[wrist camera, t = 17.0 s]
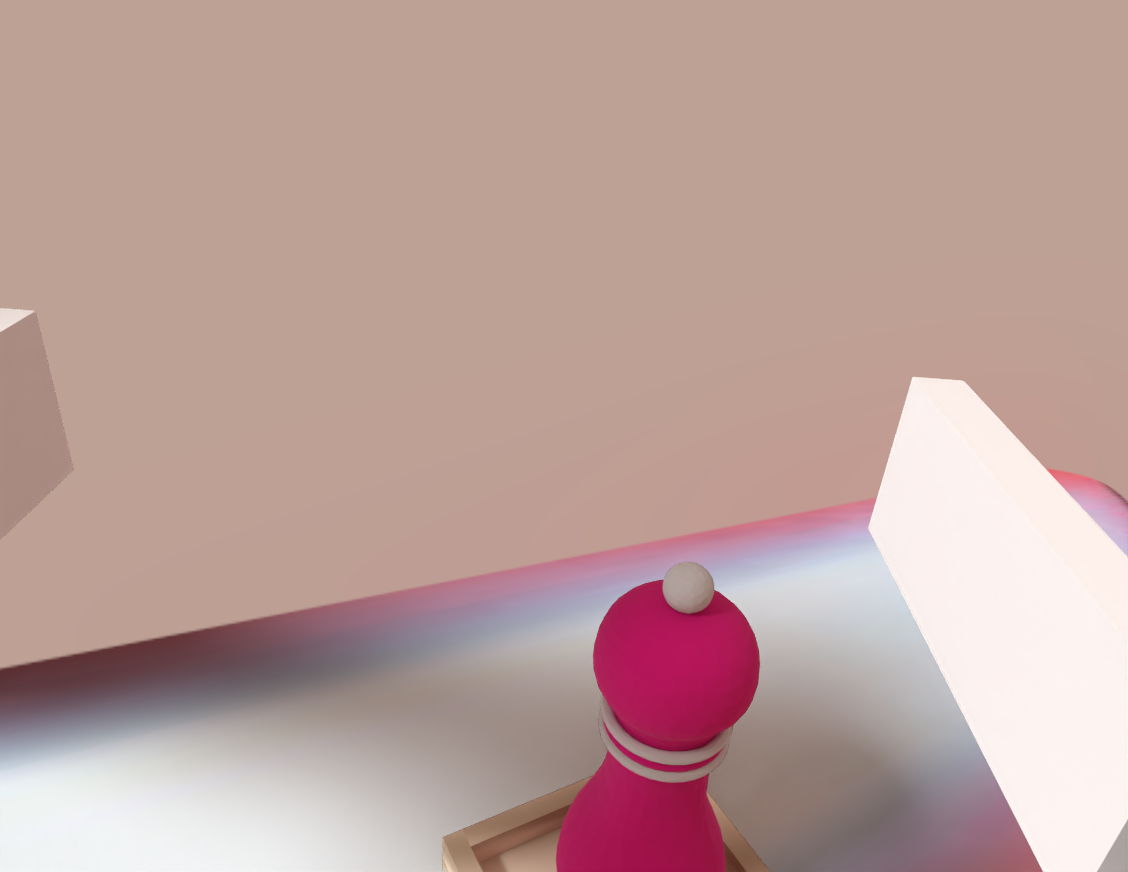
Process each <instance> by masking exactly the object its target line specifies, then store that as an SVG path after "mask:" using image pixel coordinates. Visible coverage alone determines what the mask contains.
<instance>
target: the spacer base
mask: <svg viewBox="0 0 1128 872" xmlns="http://www.w3.org/2000/svg"><path fill="white" fill-rule="evenodd" d="M593 776H594V775H593ZM593 776H590V777H588V778H586V779H583V780H581V781H578V782H576V783H573V784H571V785H569V786H566V787H564V788H561V789H559V790H556V791H554V792H552V793H549V794H547V795H544V796H542V797H539V798H537V799H535V800H532V801H530V802H527V803H525V804H522V805H520V806H518V807H515V808H513V809H510V810H508V811H505V812H503V813H501V814H498V815H496V816H493V817H491V818H488V819H486V820H484V821H481V822H479V823H476V824H474V825H471V826H469V827H467V828H464V829H462V830H459V831H457V832H454V833H452V834H450V835H447V836H445V837H443V870H444V872H557V867H556V852H557V844H558V840H559V836H560V832H561V828H562V824H563V820H564V818H565V816H566V814H567V812H568V810H569V808H570V806H571V804H572V803H573V801H574V799H575V798H576V796H577V794H578V793H579V791H580V790H581V789H582V788H583V787H584V785H585V784H586V783H587V782H588V781H589V780H590V779H591V778H592V777H593ZM707 797H708V800H709V802H710V804H711V806H712V808H713V811H714V813H715V816H716V818H717V821H718V823H719V826H720V829H721V833H722V838H723V844H724V849H725V855H726V870H725V872H770V871H769V870H768V868H767V867H766V866H765V864H764V863H763V862H762V861H761V859H760V858H759V857H758V856H757V854H756V853H755V852H754V850H753V849H752V848H751V847H750V845H749V844H748V843H747V842H746V840H745V839H744V838H743V837H742V835H741V834H740V833H739V831H738V830H737V829H736V828H735V826H734V825H733V824H732V823H731V821H730V820H729V819H728V817H727V816H726V815H725V814H724V812H723V811H722V810H721V809H720V807H719V806H718V805H717V804H716V802H715V801H714V800H713V798H712V797H711V796H710V795H709V793H708V792H707Z"/></svg>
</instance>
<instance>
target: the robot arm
mask: <svg viewBox="0 0 1128 872" xmlns="http://www.w3.org/2000/svg"><path fill="white" fill-rule="evenodd" d="M73 470H74V468H73V464H72V460H71V456H70V452H69V447H68V443H67V439H66V435H65V431H64V427H63V423H62V419H61V414H60V410H59V406H58V402H57V398H56V394H55V389H54V385H53V381H52V378H51V373H50V369H49V364H48V360H47V356H46V352H45V348H44V344H43V340H42V336H41V331H40V327H39V324H38V319H37V315H36V311H29V310H18V309H4V308H0V540H1V539H2V538H3V537H4V536H5V535H6V534H7V533H8V532H9V531H10V530H11V529H12V528H14V526H16V525H17V524H18V523H19V522H20V521H21V520H22V519H23V518H24V517H25V516H26V515H27V514H28V513H29V512H30V511H31V510H32V509H33V508H35V507H36V506H37V505H38V504H39V503H40V502H41V501H42V500H43V499H44V498H45V497H46V496H47V495H48V494H49V493H50V492H51V491H52V490H53V489H54V488H55V487H57V485H59V484H60V483H61V482H62V481H63V480H64V479H65V478H66V477H67V476H68V475H69V474H70V473H71V472H72V471H73ZM868 529H869V530H870V532H871V534H872V536H873V538H874V540H875V542H876V544H877V546H878V548H879V550H880V552H881V554H882V556H883V558H884V560H885V562H886V564H887V566H888V568H889V570H890V572H891V574H892V576H893V578H894V580H895V582H896V584H897V586H898V587H899V589H900V591H901V593H902V595H903V597H904V599H905V601H906V603H907V605H908V607H909V609H910V611H911V613H912V615H913V617H914V619H915V621H916V623H917V625H918V627H919V629H920V631H921V633H922V635H923V637H924V639H925V641H926V643H927V644H928V646H929V648H930V650H931V652H932V654H933V656H934V658H935V660H936V662H937V664H938V666H939V668H940V670H941V672H942V674H943V676H944V678H945V680H946V682H947V684H948V686H949V688H950V690H951V692H952V694H953V696H954V698H955V700H956V701H957V703H958V705H959V707H960V709H961V711H962V713H963V715H964V717H965V719H966V721H967V723H968V725H969V727H970V729H971V731H972V733H973V735H974V737H975V739H976V741H977V743H978V745H979V747H980V749H981V751H982V753H983V755H984V757H985V758H986V760H987V762H988V764H989V766H990V768H991V770H992V772H993V774H994V776H995V778H996V780H997V782H998V784H999V786H1000V788H1001V790H1002V792H1003V794H1004V796H1005V798H1006V800H1007V802H1008V804H1009V806H1010V808H1011V810H1012V812H1013V814H1014V815H1015V817H1016V819H1017V821H1018V823H1019V825H1020V827H1021V829H1022V831H1023V833H1024V835H1025V837H1026V839H1027V841H1028V843H1029V845H1030V847H1031V849H1032V851H1033V853H1034V855H1035V857H1036V859H1037V861H1038V863H1039V865H1040V867H1041V869H1042V871H1043V872H1128V557H1127V556H1126V555H1125V554H1124V553H1123V552H1122V551H1121V549H1120V548H1119V547H1118V546H1117V545H1116V544H1115V543H1114V542H1113V541H1112V540H1111V539H1110V538H1109V537H1108V535H1107V534H1106V533H1105V532H1104V531H1103V530H1102V529H1101V528H1100V527H1099V526H1098V525H1097V524H1096V523H1095V522H1094V520H1093V519H1092V518H1091V517H1090V516H1089V515H1088V514H1087V513H1086V512H1085V511H1084V510H1083V509H1082V508H1081V507H1080V505H1079V504H1078V503H1077V502H1076V501H1075V500H1074V499H1073V498H1072V497H1071V496H1070V495H1069V494H1068V493H1067V491H1066V490H1065V489H1064V488H1063V487H1062V486H1061V485H1060V484H1059V483H1058V482H1057V481H1056V480H1055V479H1054V478H1053V476H1052V475H1051V474H1050V473H1049V472H1048V471H1047V470H1046V469H1045V468H1044V467H1043V466H1042V465H1041V464H1040V463H1039V461H1038V460H1037V459H1036V458H1035V457H1034V456H1033V455H1032V454H1031V453H1030V452H1029V451H1028V450H1027V449H1026V448H1025V447H1024V445H1023V444H1022V443H1021V442H1020V441H1019V440H1018V439H1017V438H1016V437H1015V436H1014V435H1013V434H1012V433H1011V431H1010V430H1009V429H1008V428H1007V427H1006V426H1005V425H1004V424H1003V423H1002V422H1001V421H1000V420H999V419H998V417H997V416H996V415H995V414H994V413H993V412H992V411H991V410H990V409H989V408H988V407H987V406H986V405H985V403H984V402H983V401H982V400H981V399H980V398H979V397H978V396H977V395H976V394H975V393H974V392H973V391H972V389H971V388H970V387H969V386H968V385H967V384H966V383H965V382H964V381H961V380H960V381H959V380H947V379H934V378H921V377H913V378H912V381H911V384H910V388H909V392H908V395H907V398H906V402H905V405H904V408H903V412H902V415H901V419H900V422H899V426H898V429H897V432H896V436H895V439H894V443H893V446H892V449H891V453H890V456H889V460H888V463H887V466H886V470H885V473H884V476H883V480H882V483H881V487H880V490H879V493H878V497H877V500H876V504H875V507H874V510H873V514H872V517H871V521H870V524H869V528H868Z"/></svg>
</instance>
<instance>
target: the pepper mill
mask: <svg viewBox="0 0 1128 872" xmlns="http://www.w3.org/2000/svg"><path fill="white" fill-rule="evenodd" d="M593 663H594V672H595V676H596V679H597V683H598V687H599V689H600V691H601V692H602V697H601V710H600V713H599V730H600V735H601V737H602V740H603V742H604V744H605V746H606V747H607V749H608V751H607V755H606V758H605V760H604V762H603V764H602V765H601V767H600V768H599V769H598V771H597V772H596V773H595V774H594V776H593V777H592V778H591V779H590V780H589V781H588V782H587V783H586V784H585V785H584V787H583V788H582V789H581V790H580V791H579V793H578V794H577V796H576V798H575V799H574V801H573V803H572V804H571V806H570V808H569V810H568V812H567V814H566V816H565V818H564V820H563V824H562V828H561V832H560V836H559V840H558V844H557V852H556V867H557V872H725V870H726V855H725V849H724V844H723V838H722V833H721V829H720V826H719V823H718V821H717V818H716V816H715V813H714V811H713V808H712V806H711V804H710V802H709V800H708V797H707V784H708V776H709V773H710V772H712V771H713V770H714V769H715V768H716V767H718V766H719V764H720V763H721V762H722V760H723V759H724V757H725V755H726V753H727V750H728V746H729V740H730V736H731V734H732V729H733V725H734V724H735V723H736V722H737V721H738V720H739V718H740V717H741V716H742V715H743V714H744V713H745V712H746V711H747V709H748V707H749V706H750V704H751V702H752V700H753V697H754V694H755V691H756V688H757V686H758V678H759V667H760V660H759V649H758V646H757V642H756V638H755V635H754V633H753V631H752V629H751V627H750V625H749V623H748V621H747V619H746V618H745V616H744V615H743V614H742V612H741V611H740V610H739V609H738V608H737V607H736V606H735V604H733V603H732V602H731V601H730V600H728V599H727V598H726V597H724V596H723V595H722V594H721V593H719V592H718V591H715V590H714V583H713V579H712V577H711V575H710V574H709V572H708V571H707V570H706V569H705V568H704V567H703V566H701V565H699V564H697V563H693V562H683V563H679V564H676V565H674V566H673V567H672V568H671V569H670V570H669V571H668V572H667V574H666V575H665V578H664V580H658V581H653V582H649V583H645V584H642V585H640V586H637V587H635V588H633V589H632V590H630V591H629V592H627V593H626V594H624V595H623V596H621V597H620V598H619V599H618V600H617V601H616V602H615V603H614V604H613V605H612V606H611V608H610V609H609V611H608V612H607V614H606V615H605V617H604V619H603V621H602V623H601V625H600V627H599V630H598V634H597V637H596V641H595V644H594V653H593Z"/></svg>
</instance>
